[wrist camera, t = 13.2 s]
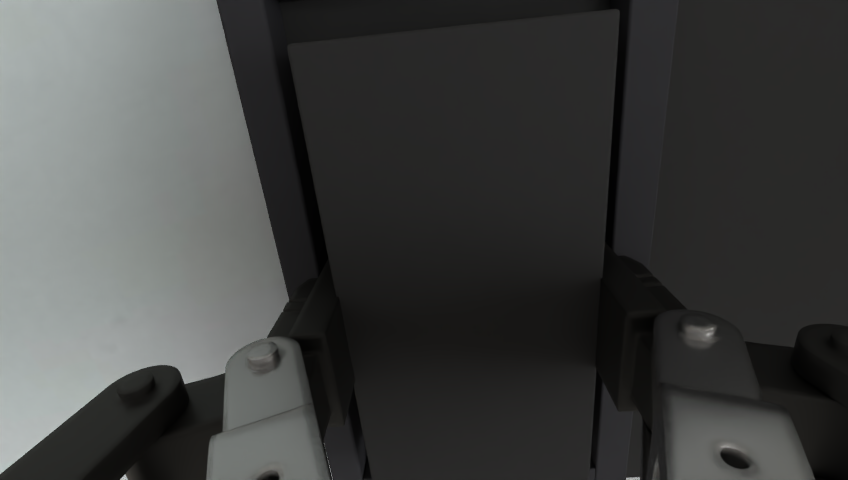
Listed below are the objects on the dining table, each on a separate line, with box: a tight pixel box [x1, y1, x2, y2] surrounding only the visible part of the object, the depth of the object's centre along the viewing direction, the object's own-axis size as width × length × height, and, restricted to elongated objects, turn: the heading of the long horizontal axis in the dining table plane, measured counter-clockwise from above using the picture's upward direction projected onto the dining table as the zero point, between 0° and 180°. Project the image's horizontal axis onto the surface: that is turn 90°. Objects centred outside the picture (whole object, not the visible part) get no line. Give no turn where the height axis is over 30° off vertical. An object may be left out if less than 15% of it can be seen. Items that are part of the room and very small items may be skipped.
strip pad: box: [287, 9, 620, 480], centre depth 11 cm, size 12×6×3 cm, turn 5°
